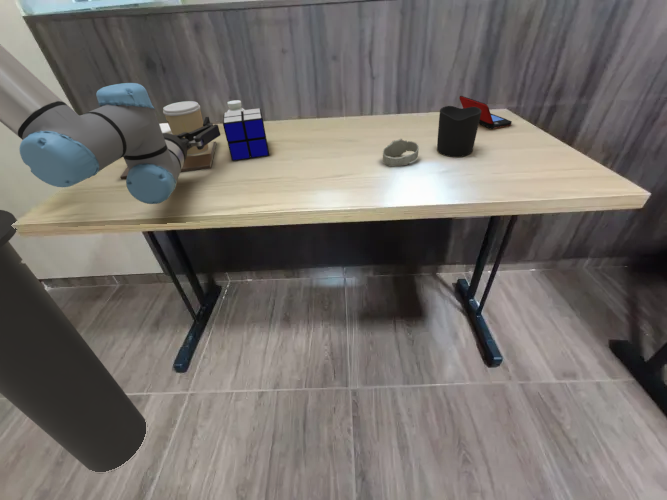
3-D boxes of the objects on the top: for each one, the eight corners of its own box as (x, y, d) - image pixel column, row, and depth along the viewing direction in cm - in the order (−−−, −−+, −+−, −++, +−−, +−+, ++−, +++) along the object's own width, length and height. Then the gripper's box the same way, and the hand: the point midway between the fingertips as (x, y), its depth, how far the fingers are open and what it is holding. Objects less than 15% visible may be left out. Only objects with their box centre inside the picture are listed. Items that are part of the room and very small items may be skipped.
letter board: (121, 179, 88) (116, 169, 86) (140, 153, 102) (136, 143, 101) (210, 168, 90) (207, 157, 89) (216, 143, 105) (214, 134, 103)
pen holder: (455, 141, 95) (461, 102, 89) (482, 152, 88) (490, 111, 82) (427, 149, 91) (431, 109, 85) (453, 161, 85) (459, 119, 79)
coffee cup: (190, 143, 104) (176, 100, 96) (217, 144, 101) (206, 101, 94) (170, 155, 97) (154, 110, 89) (199, 157, 94) (185, 111, 87)
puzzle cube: (231, 161, 93) (222, 123, 87) (231, 148, 101) (223, 112, 95) (269, 155, 94) (262, 118, 88) (266, 143, 102) (260, 107, 96)
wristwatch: (411, 153, 90) (413, 134, 87) (423, 163, 85) (425, 142, 82) (378, 159, 88) (378, 140, 85) (388, 169, 83) (388, 149, 80)
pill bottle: (249, 136, 108) (242, 103, 102) (231, 138, 108) (223, 105, 102) (250, 130, 112) (243, 98, 107) (233, 132, 112) (225, 100, 106)
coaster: (147, 136, 114) (142, 125, 112) (179, 131, 116) (175, 120, 114) (143, 146, 107) (139, 135, 104) (178, 141, 109) (174, 129, 106)
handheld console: (513, 125, 101) (519, 98, 97) (481, 132, 99) (486, 104, 94) (484, 114, 111) (488, 89, 106) (454, 120, 108) (458, 94, 104)
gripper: (111, 180, 75) (137, 145, 91) (229, 165, 77) (233, 133, 94) (94, 146, 70) (124, 116, 87) (221, 131, 73) (227, 104, 90)
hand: (181, 125), depth 91 cm, fingers open, 13 cm apart
